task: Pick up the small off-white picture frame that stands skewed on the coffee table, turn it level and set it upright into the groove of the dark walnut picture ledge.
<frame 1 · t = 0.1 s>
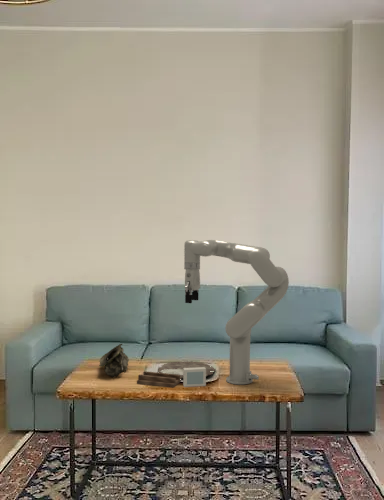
hand: (191, 301, 278), 37 cm above the table, tool pointing down, fingers open, 9 cm apart
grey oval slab: (186, 373, 288), on the table
picture frame: (194, 385, 265), on the table
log: (113, 372, 287), on the table
picture ledge: (159, 382, 270), on the table
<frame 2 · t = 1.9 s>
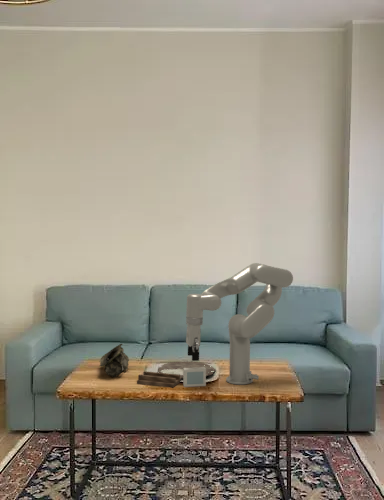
hand: (193, 357, 264), 13 cm above the table, tool pointing down, fingers open, 9 cm apart
nothing on the table moved.
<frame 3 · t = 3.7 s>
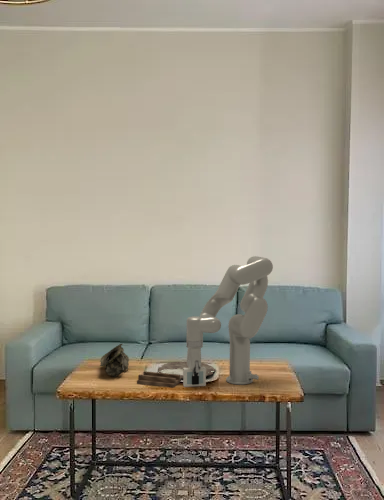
hand: (194, 382, 265), 1 cm above the table, tool pointing down, fingers closed on picture frame, 3 cm apart
picture frame: (194, 385, 265), on the table, touching gripper
everything else where it was.
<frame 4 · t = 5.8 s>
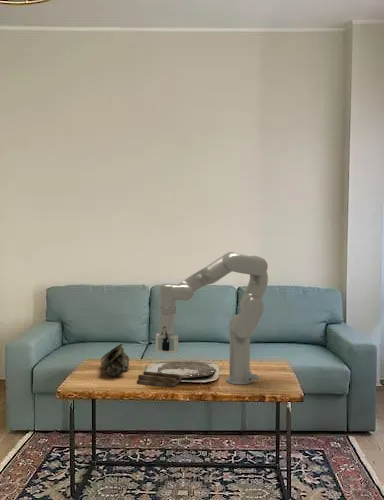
hand: (166, 349, 268), 16 cm above the table, tool pointing down, fingers closed on picture frame, 3 cm apart
picture frame: (166, 351, 268), point 15 cm above the table, touching gripper
everything else where it was.
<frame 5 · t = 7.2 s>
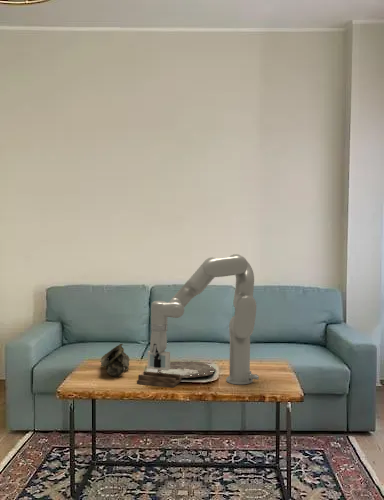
hand: (158, 366, 269), 8 cm above the table, tool pointing down, fingers closed on picture frame, 3 cm apart
picture frame: (158, 368, 269), point 7 cm above the table, touching gripper
everything else where it was.
when the fingers open (5 cm above the table, at t = 8.0 s): picture frame drops 2 cm, resting on picture ledge.
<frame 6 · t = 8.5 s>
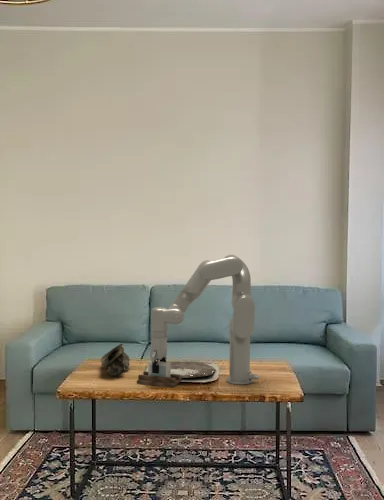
hand: (159, 370, 269), 6 cm above the table, tool pointing down, fingers open, 8 cm apart
picture frame: (159, 379, 270), point 1 cm above the table, touching picture ledge
everything else where it was.
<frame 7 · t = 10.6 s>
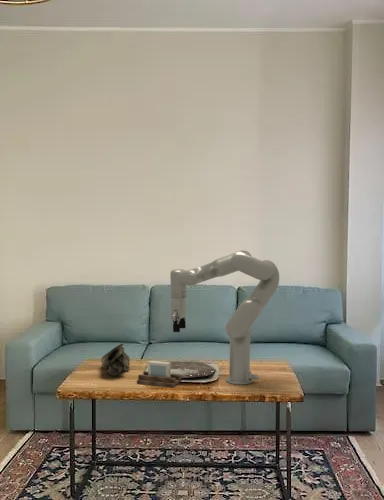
hand: (179, 330, 280), 23 cm above the table, tool pointing down, fingers open, 9 cm apart
nothing on the table moved.
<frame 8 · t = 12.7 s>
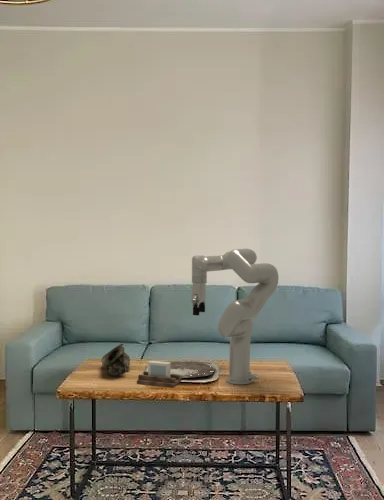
hand: (199, 313, 293), 28 cm above the table, tool pointing down, fingers open, 9 cm apart
at the end: picture frame 0.0 cm off-centre on the picture ledge, point 1.5 cm above the picture ledge's base; picture frame tilted 0°; the gripper is holding nothing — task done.
